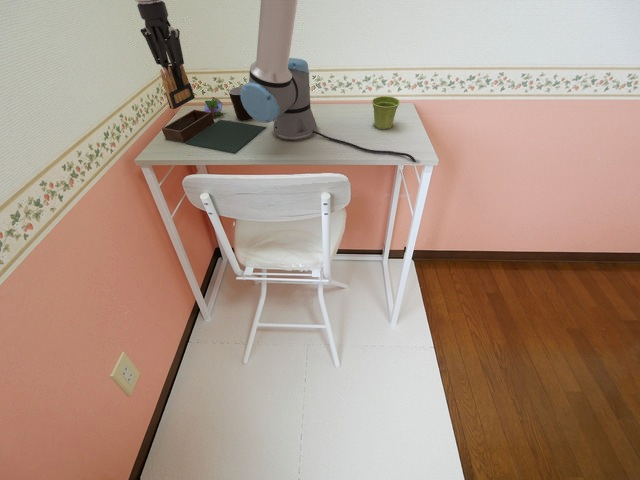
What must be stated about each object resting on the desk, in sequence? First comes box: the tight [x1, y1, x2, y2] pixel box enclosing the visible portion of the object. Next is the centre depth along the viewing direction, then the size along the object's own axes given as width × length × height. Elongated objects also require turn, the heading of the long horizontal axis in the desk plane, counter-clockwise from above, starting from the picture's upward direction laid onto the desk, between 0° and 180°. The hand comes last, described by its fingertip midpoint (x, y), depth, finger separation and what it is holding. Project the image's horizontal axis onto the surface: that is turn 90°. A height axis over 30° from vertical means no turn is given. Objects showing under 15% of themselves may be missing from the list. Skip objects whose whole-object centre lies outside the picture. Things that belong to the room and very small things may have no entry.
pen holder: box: [161, 109, 215, 144], centre depth 119 cm, size 8×17×4 cm, turn 157°
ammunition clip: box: [159, 64, 196, 110], centre depth 109 cm, size 11×2×12 cm, turn 157°
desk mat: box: [185, 119, 266, 155], centre depth 116 cm, size 20×20×1 cm
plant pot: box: [371, 95, 401, 130], centre depth 114 cm, size 9×9×9 cm
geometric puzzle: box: [203, 96, 224, 119], centre depth 127 cm, size 7×7×8 cm
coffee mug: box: [228, 85, 254, 122], centre depth 125 cm, size 12×9×10 cm
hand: (178, 88), depth 110 cm, fingers closed on ammunition clip, 2 cm apart
